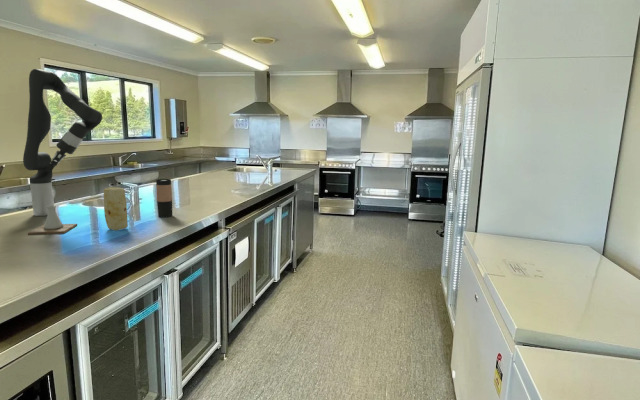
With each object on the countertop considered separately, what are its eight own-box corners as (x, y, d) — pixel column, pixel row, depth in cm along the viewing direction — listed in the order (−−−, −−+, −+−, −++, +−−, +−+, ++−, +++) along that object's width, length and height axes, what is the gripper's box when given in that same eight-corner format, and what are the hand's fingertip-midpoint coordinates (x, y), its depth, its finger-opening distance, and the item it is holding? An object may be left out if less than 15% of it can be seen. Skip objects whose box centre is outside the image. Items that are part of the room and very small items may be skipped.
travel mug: (154, 216, 200) (152, 180, 196) (165, 213, 207) (163, 178, 203) (165, 218, 197) (163, 181, 193) (176, 215, 204) (174, 179, 200)
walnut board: (43, 226, 174) (43, 224, 174) (77, 225, 177) (76, 223, 177) (27, 234, 161) (27, 232, 160) (64, 233, 164) (63, 231, 164)
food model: (130, 227, 177) (127, 186, 173) (125, 231, 170) (122, 188, 167) (108, 227, 176) (105, 186, 172) (102, 231, 169) (99, 188, 165)
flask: (53, 230, 165) (50, 208, 163) (39, 229, 166) (37, 207, 164) (67, 226, 172) (65, 205, 170) (54, 225, 173) (51, 204, 171)
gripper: (63, 135, 182) (43, 161, 182) (59, 139, 171) (38, 167, 170) (79, 144, 187) (59, 170, 186) (76, 149, 175) (55, 176, 174)
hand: (49, 169), depth 178 cm, fingers open, 8 cm apart
